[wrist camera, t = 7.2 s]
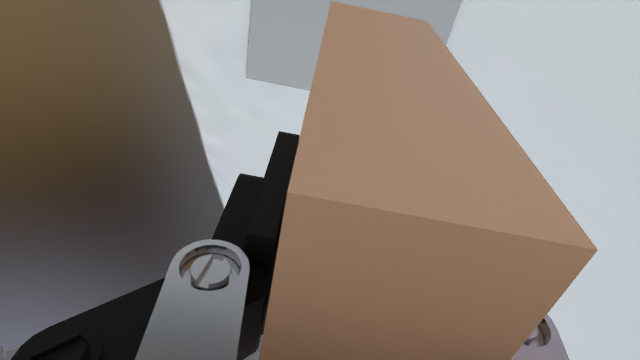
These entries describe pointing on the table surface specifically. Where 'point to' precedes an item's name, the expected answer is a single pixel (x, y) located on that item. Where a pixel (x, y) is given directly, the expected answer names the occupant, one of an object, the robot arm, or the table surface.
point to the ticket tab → (411, 210)
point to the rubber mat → (318, 33)
